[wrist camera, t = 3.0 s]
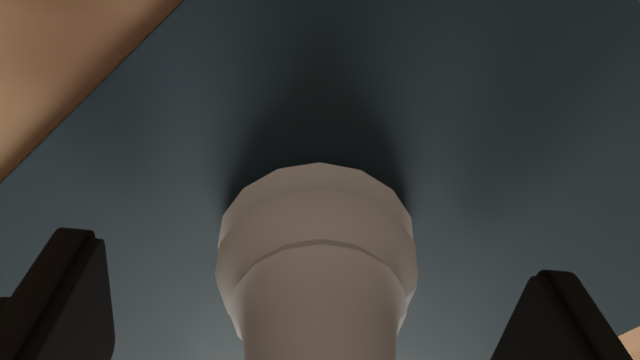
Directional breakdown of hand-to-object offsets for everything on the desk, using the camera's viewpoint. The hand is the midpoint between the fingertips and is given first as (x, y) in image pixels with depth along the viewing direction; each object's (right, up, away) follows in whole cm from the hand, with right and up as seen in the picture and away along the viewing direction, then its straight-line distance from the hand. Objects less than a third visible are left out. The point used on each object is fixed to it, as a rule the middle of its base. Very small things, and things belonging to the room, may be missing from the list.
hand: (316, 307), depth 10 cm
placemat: (+1, 0, +3) cm, 3 cm away
